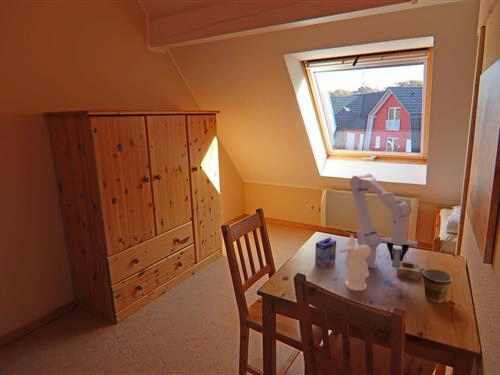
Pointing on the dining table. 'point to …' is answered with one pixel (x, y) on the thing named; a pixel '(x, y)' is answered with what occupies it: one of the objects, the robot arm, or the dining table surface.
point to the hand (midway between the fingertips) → (396, 259)
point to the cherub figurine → (356, 265)
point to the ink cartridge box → (325, 253)
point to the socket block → (408, 270)
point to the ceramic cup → (436, 284)
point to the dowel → (396, 257)
